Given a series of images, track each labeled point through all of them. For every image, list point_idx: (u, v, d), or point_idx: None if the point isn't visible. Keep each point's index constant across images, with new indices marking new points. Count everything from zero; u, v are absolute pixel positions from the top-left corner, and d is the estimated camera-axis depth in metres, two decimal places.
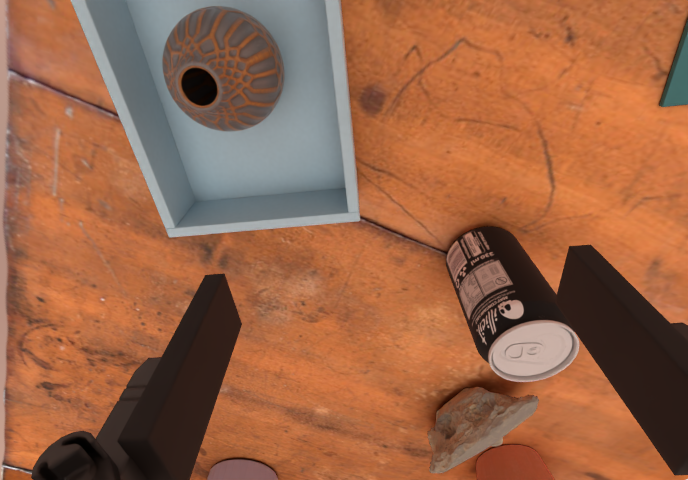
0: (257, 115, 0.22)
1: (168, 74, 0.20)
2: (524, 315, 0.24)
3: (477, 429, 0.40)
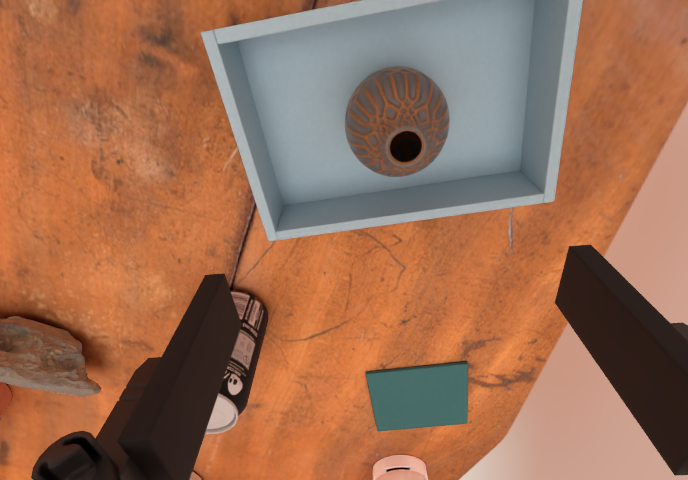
0: (367, 165, 0.25)
1: (409, 100, 0.21)
2: (235, 395, 0.30)
3: (39, 371, 0.36)
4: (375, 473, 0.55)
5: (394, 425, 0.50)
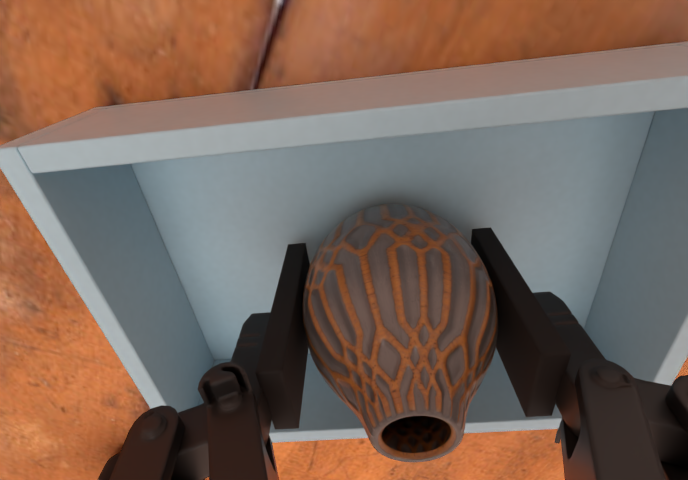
0: None
1: (428, 329, 0.10)
2: None
3: None
4: None
5: None
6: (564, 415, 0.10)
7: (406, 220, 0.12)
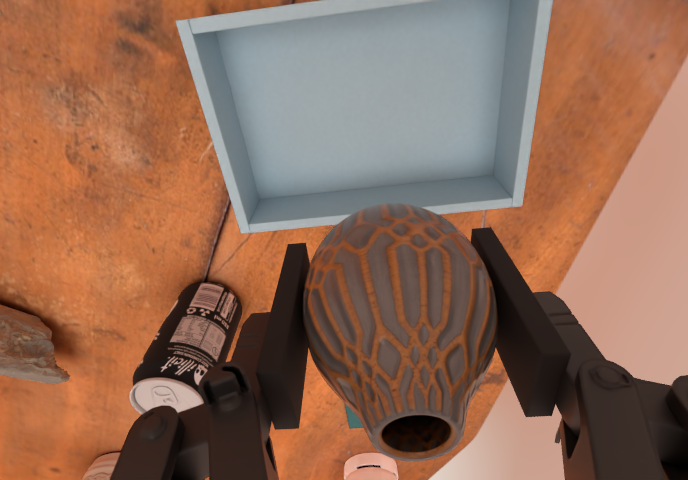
0: None
1: (428, 328, 0.10)
2: None
3: (4, 356, 0.36)
4: (346, 470, 0.55)
5: None
6: (564, 415, 0.10)
7: (406, 219, 0.12)
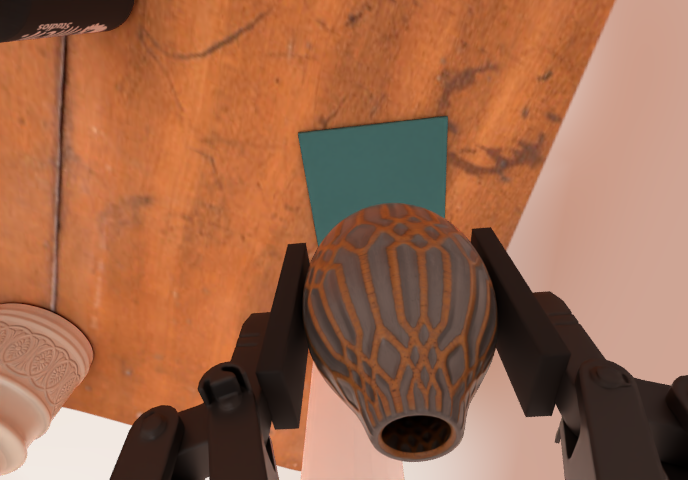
0: None
1: (428, 328, 0.10)
2: None
3: None
4: None
5: None
6: (564, 415, 0.10)
7: (406, 219, 0.12)
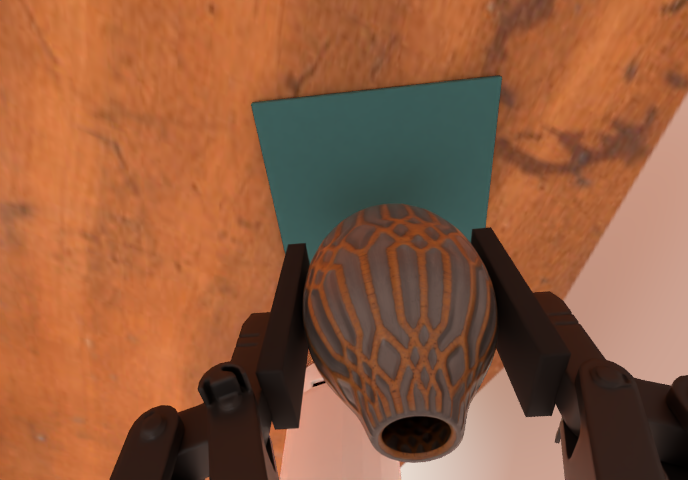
0: None
1: (428, 329, 0.10)
2: None
3: None
4: None
5: None
6: (564, 415, 0.10)
7: (406, 220, 0.12)
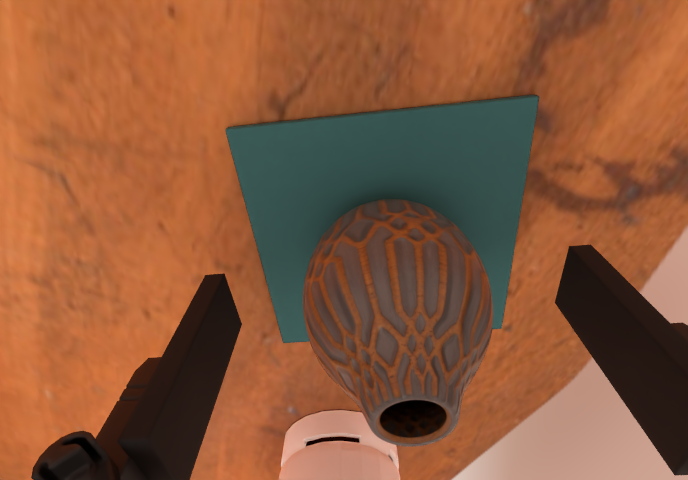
0: None
1: (424, 317, 0.10)
2: None
3: None
4: (285, 449, 0.25)
5: None
6: None
7: (404, 214, 0.13)
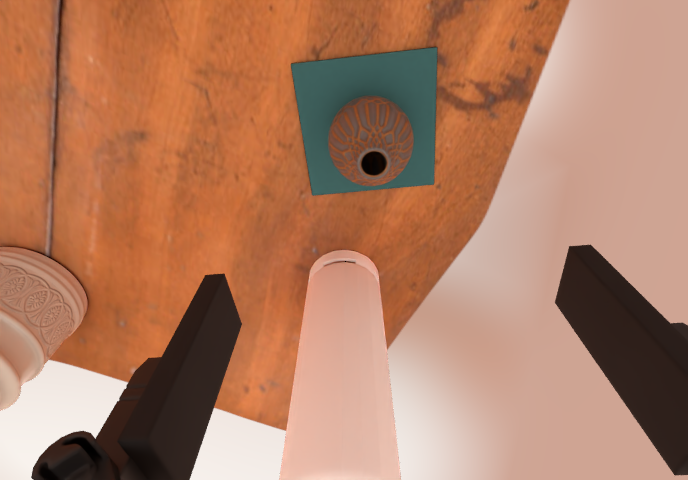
0: (344, 175, 0.30)
1: (378, 126, 0.27)
2: None
3: None
4: (310, 274, 0.41)
5: (334, 183, 0.36)
6: None
7: (373, 96, 0.29)
